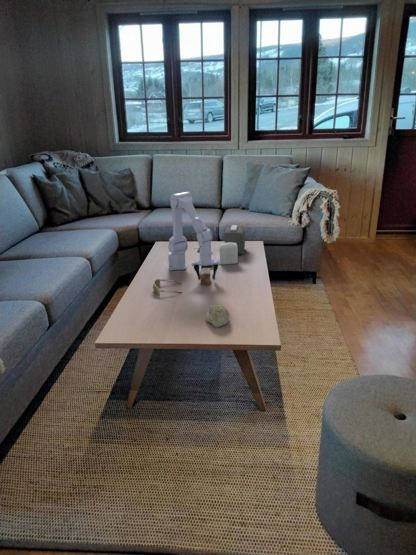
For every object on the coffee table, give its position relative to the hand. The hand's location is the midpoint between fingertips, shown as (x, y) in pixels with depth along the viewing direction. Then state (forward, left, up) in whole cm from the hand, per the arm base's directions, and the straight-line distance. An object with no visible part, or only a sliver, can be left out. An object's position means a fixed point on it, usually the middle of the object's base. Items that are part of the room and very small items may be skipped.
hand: (206, 278), depth 214 cm
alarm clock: (+15, +46, -2) cm, 49 cm away
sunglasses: (-19, -9, -2) cm, 21 cm away
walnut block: (-1, -1, -2) cm, 2 cm away
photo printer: (+11, +26, -2) cm, 29 cm away
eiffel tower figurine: (-4, +47, -3) cm, 47 cm away
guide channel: (-1, +13, -2) cm, 13 cm away
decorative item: (+7, -42, -2) cm, 43 cm away
